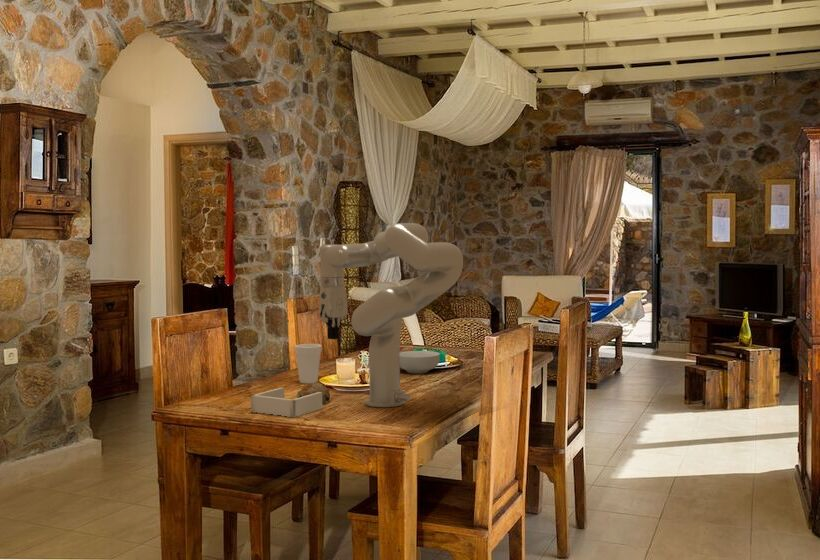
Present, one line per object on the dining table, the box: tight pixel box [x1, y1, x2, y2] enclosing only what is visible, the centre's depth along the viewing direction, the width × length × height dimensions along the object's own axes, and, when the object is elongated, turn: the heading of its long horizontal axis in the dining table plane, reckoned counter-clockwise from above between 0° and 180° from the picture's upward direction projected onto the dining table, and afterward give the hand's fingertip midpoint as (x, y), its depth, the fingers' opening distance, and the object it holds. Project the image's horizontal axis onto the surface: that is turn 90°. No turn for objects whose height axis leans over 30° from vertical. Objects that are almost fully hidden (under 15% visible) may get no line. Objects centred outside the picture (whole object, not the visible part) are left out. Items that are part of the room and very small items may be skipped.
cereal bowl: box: [400, 350, 441, 374], centre depth 317 cm, size 17×17×7 cm
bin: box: [250, 387, 323, 419], centre depth 253 cm, size 16×14×5 cm
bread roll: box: [296, 382, 331, 405], centre depth 264 cm, size 10×10×8 cm
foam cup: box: [294, 343, 322, 384], centre depth 298 cm, size 10×9×13 cm
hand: (333, 338), depth 272 cm, fingers closed
